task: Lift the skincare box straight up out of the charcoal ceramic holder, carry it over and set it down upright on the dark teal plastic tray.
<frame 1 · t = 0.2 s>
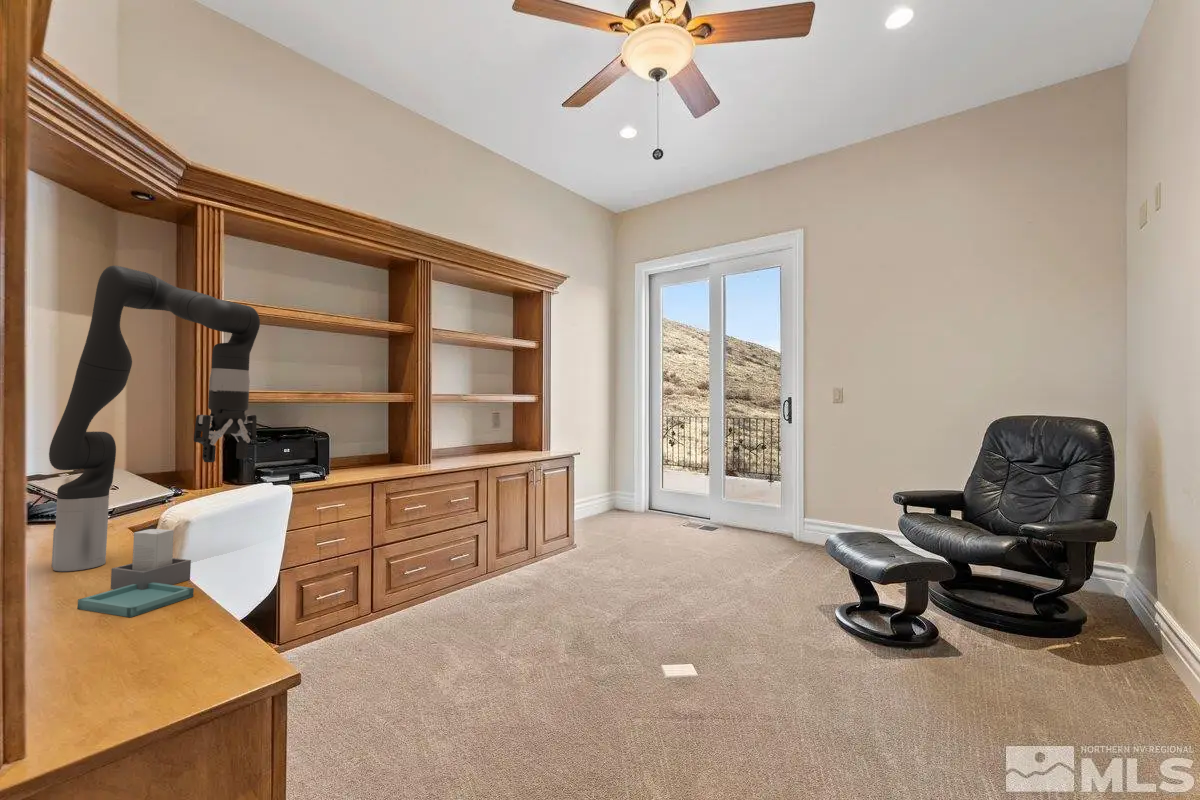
hand: (225, 460, 119), 28 cm above the table, fingers open, 8 cm apart
holder: (151, 584, 118), on the table
tray: (137, 602, 107), on the table
skincare box: (151, 585, 118), resting in holder
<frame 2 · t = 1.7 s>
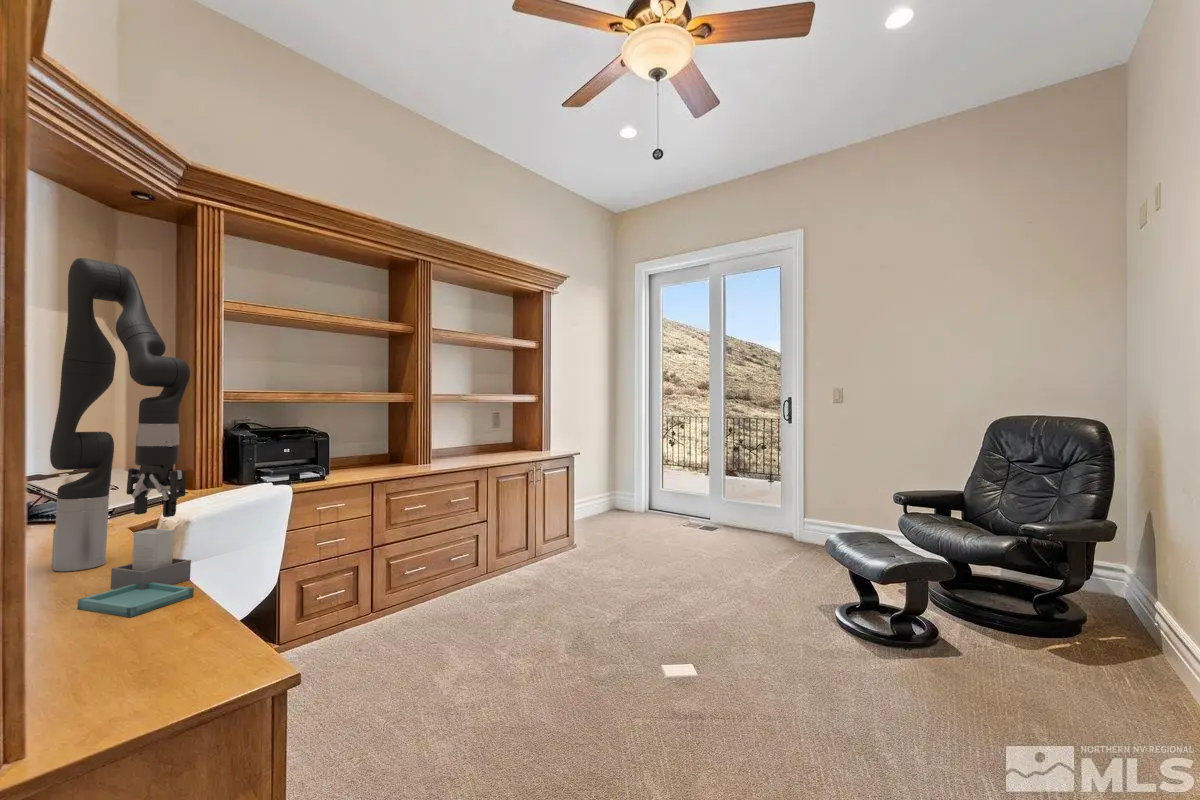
hand: (154, 515, 118), 16 cm above the table, fingers open, 8 cm apart
nothing on the table moved.
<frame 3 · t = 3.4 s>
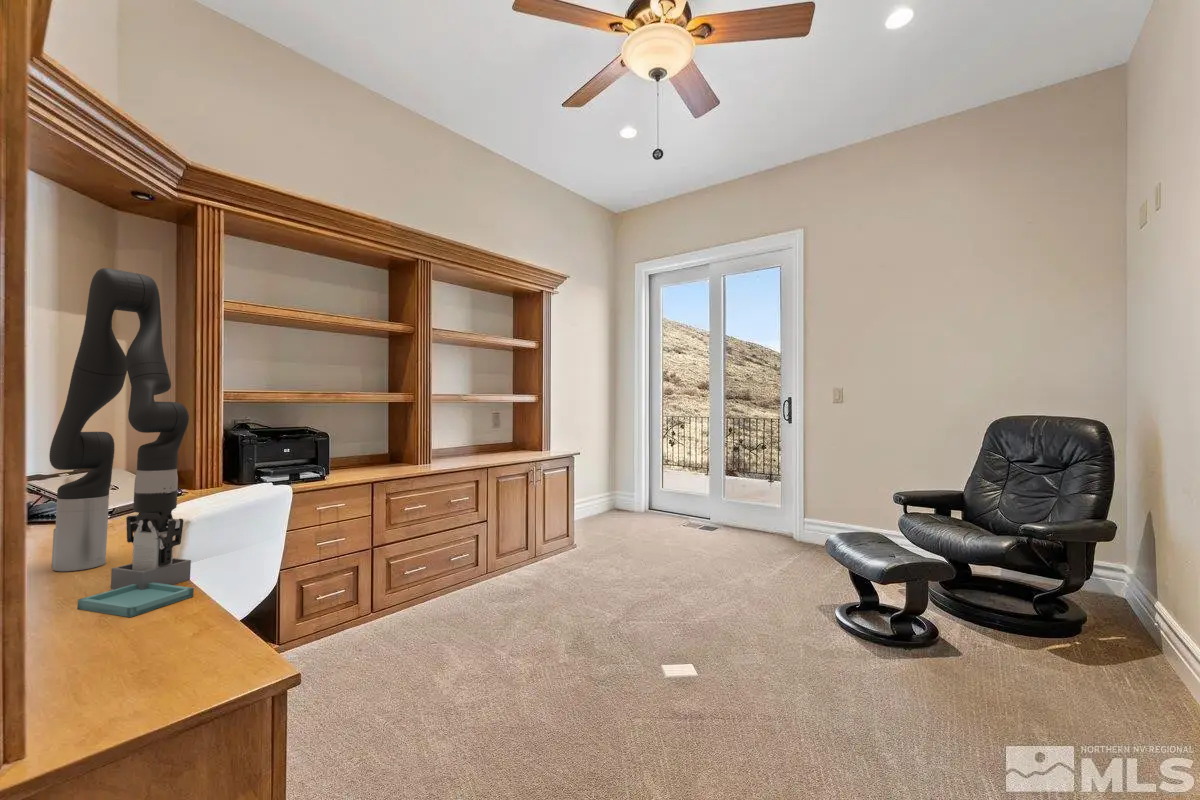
hand: (152, 563, 118), 5 cm above the table, fingers closed on skincare box, 6 cm apart
skincare box: (151, 585, 118), resting in holder, touching gripper
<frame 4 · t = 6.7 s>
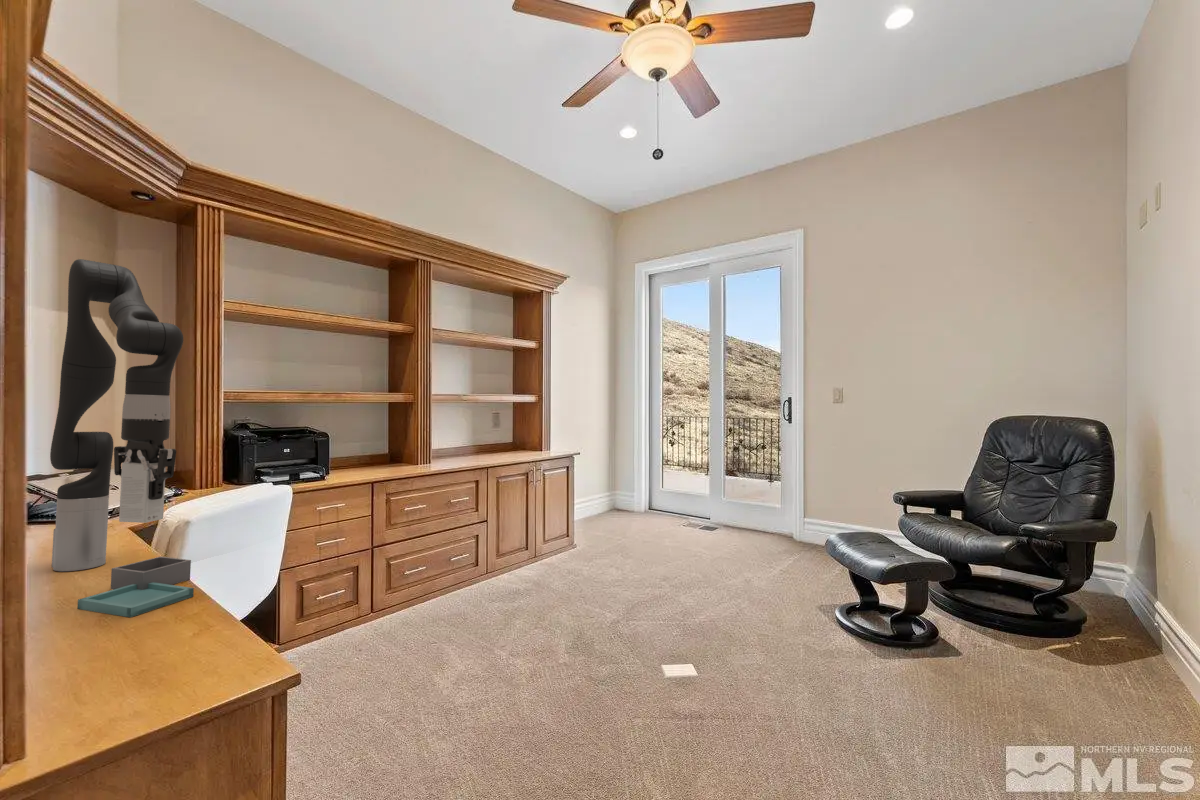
hand: (142, 497, 108), 21 cm above the table, fingers closed on skincare box, 6 cm apart
skincare box: (141, 521, 108), point 16 cm above the table, touching gripper
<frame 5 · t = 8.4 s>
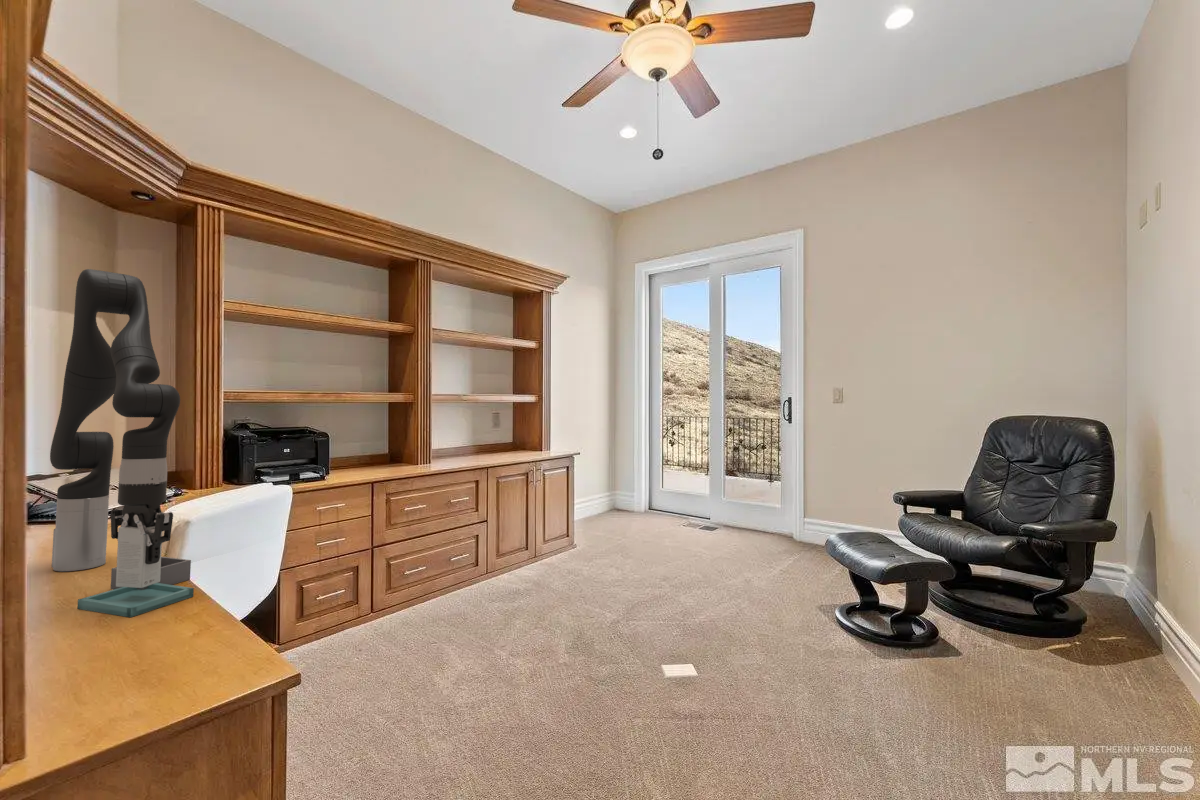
hand: (139, 561, 107), 8 cm above the table, fingers closed on skincare box, 6 cm apart
skincare box: (138, 585, 107), point 3 cm above the table, touching gripper
when the fingers open (7 cm above the table, at t = 9.8 s): skincare box drops 1 cm, resting on tray.
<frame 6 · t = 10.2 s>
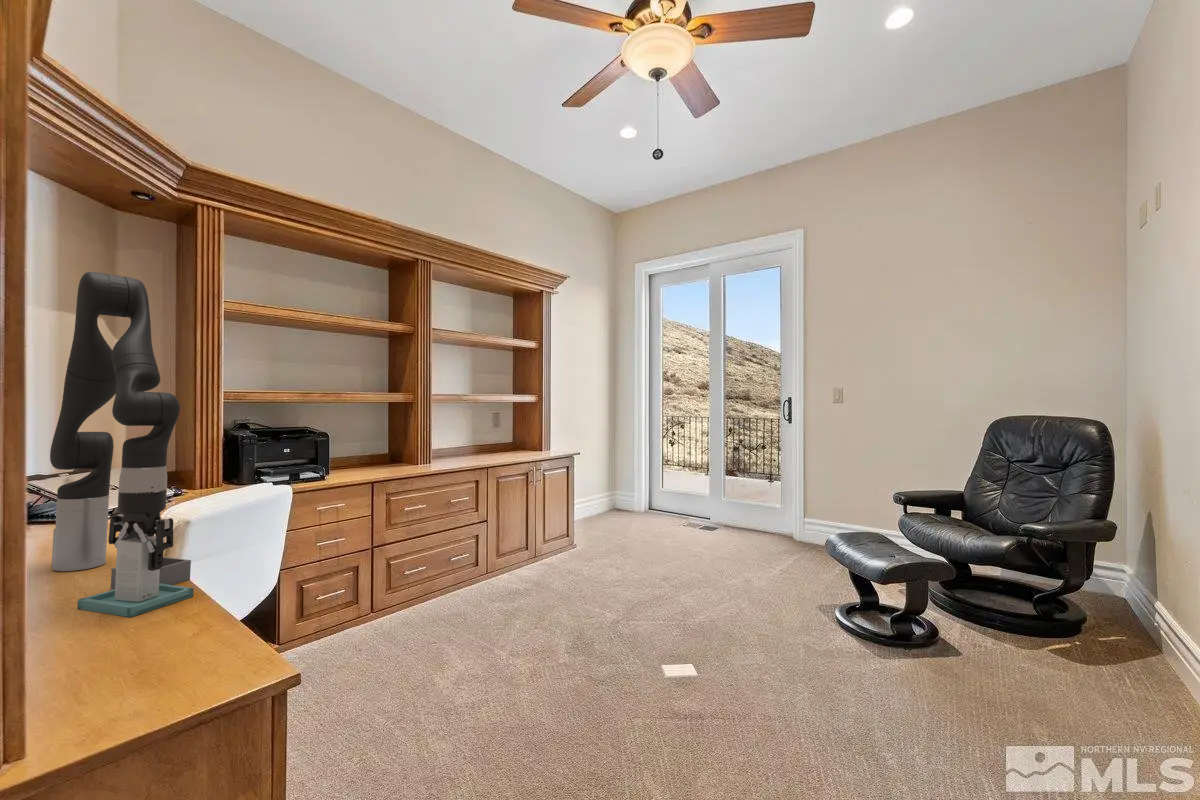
hand: (139, 567, 107), 7 cm above the table, fingers open, 8 cm apart
skincare box: (136, 599, 107), point 1 cm above the table, touching tray
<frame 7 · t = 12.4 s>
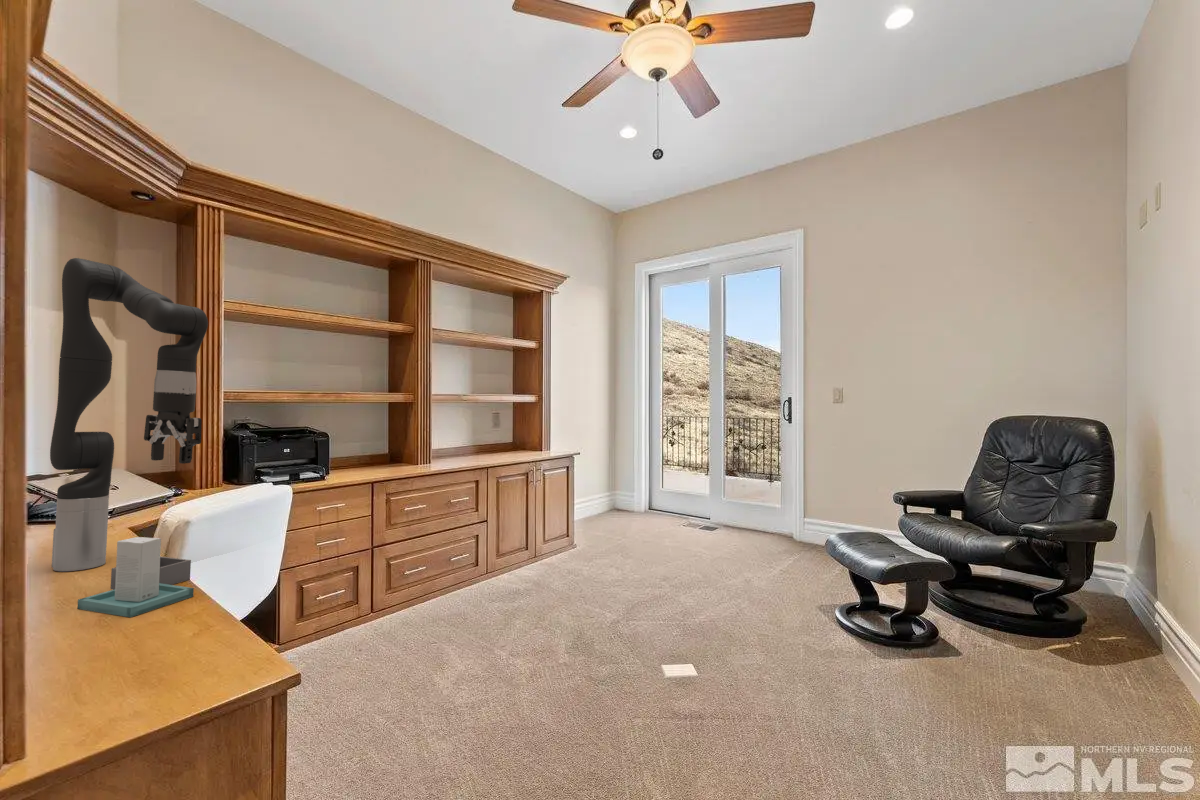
hand: (171, 461, 120), 28 cm above the table, fingers open, 8 cm apart
nothing on the table moved.
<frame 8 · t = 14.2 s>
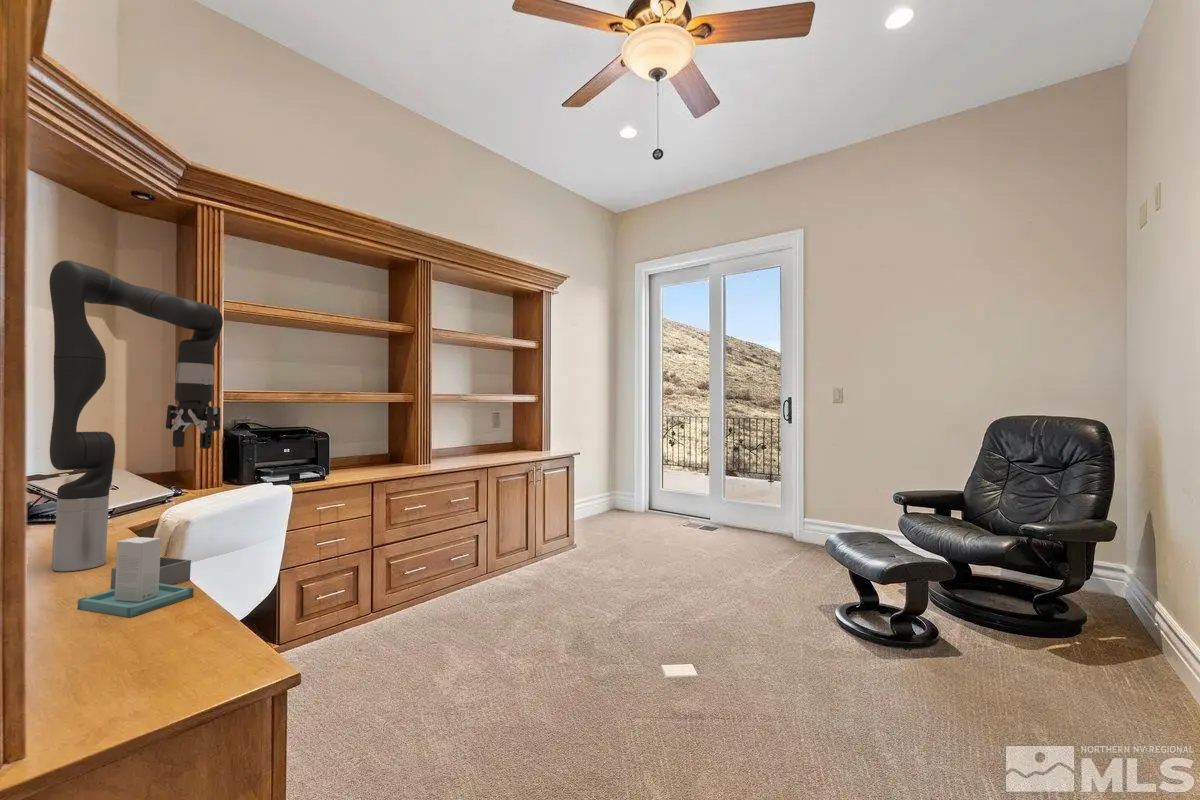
hand: (191, 447, 129), 30 cm above the table, fingers open, 8 cm apart
nothing on the table moved.
at the end: skincare box inside the target area on the tray (0.4 cm from its centre), point 0.6 cm above the tray's base; skincare box tilted 0°; the gripper is holding nothing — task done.
